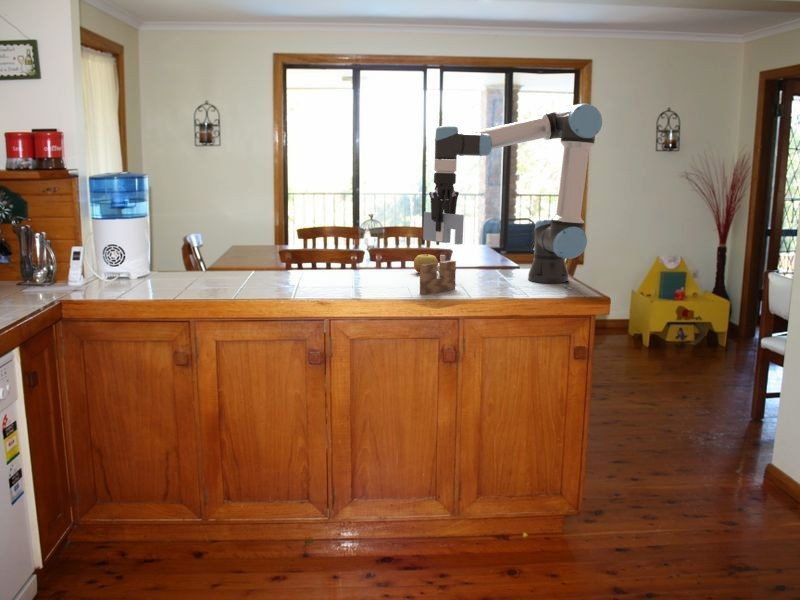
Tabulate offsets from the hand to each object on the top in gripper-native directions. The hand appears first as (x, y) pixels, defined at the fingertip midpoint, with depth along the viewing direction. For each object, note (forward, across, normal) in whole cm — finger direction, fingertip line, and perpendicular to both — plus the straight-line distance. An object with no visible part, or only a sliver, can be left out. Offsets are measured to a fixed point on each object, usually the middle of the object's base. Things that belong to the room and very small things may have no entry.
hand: (442, 240), depth 264 cm
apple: (+18, -24, -29) cm, 42 cm away
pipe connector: (+18, -13, -10) cm, 24 cm away
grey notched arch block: (+1, 0, 0) cm, 1 cm away
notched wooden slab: (+17, +3, +2) cm, 18 cm away
